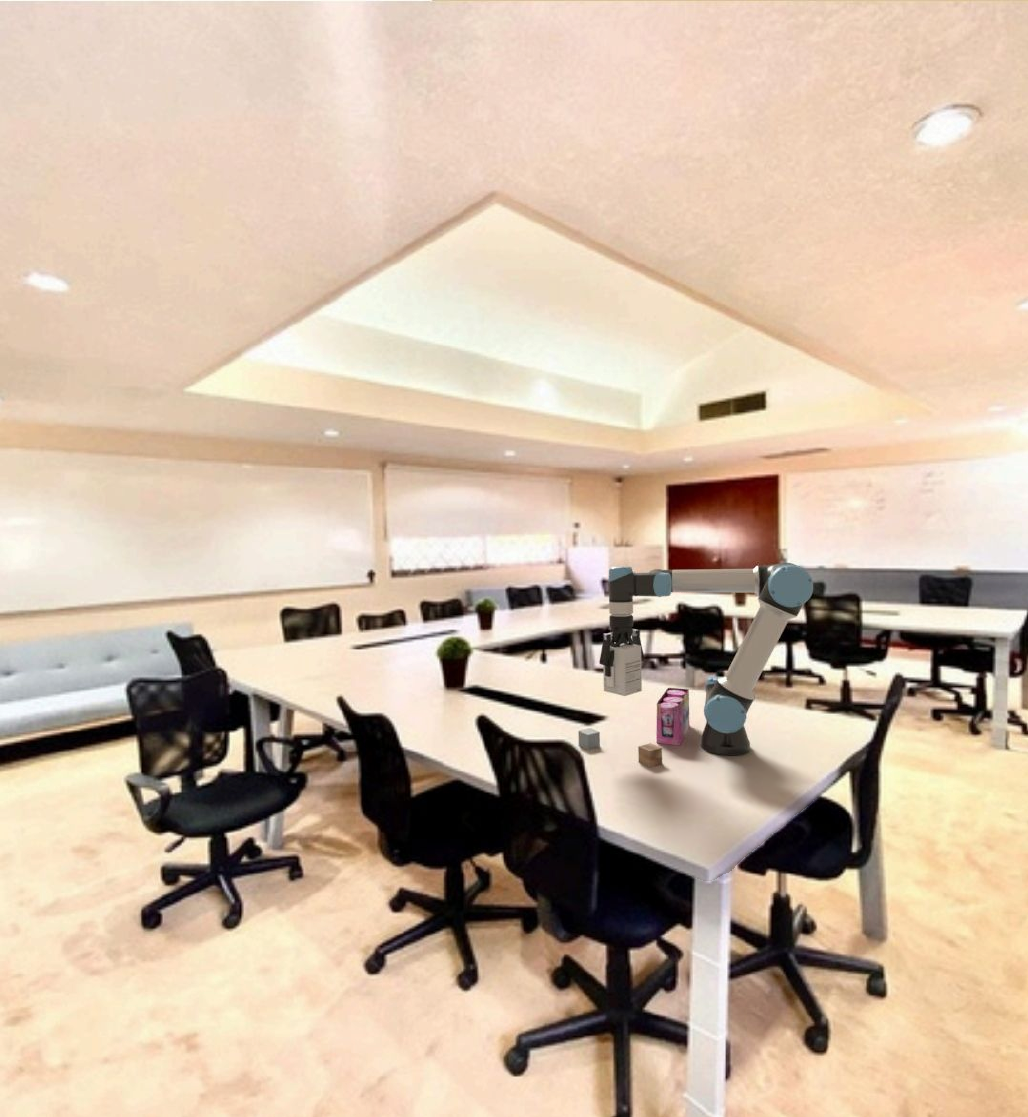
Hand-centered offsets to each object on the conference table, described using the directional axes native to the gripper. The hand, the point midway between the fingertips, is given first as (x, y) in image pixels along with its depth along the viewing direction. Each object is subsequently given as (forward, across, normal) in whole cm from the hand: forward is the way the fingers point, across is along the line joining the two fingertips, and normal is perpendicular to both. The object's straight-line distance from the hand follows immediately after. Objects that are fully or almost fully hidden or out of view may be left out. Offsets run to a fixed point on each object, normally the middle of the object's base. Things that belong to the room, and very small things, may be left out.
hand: (622, 683), depth 193 cm
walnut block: (+23, -1, +11) cm, 25 cm away
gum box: (+23, -26, -4) cm, 35 cm away
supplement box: (+3, 0, 0) cm, 3 cm away
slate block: (+23, +5, -12) cm, 26 cm away
